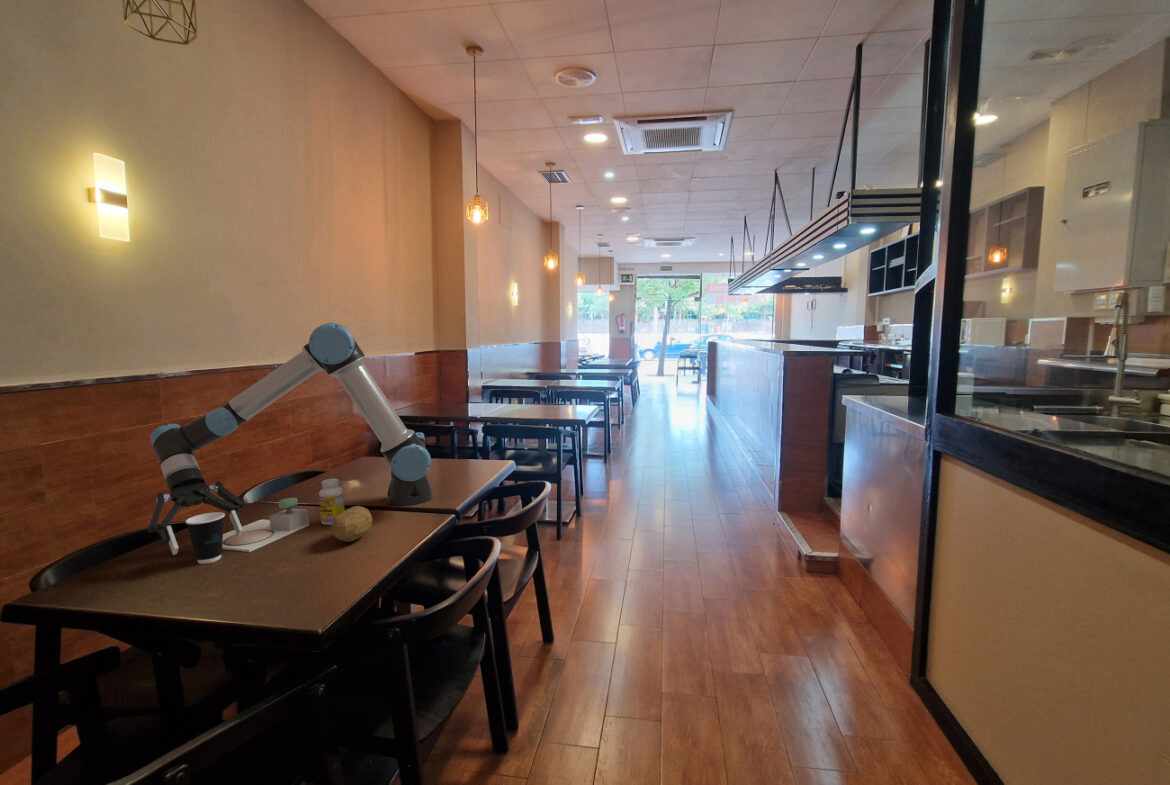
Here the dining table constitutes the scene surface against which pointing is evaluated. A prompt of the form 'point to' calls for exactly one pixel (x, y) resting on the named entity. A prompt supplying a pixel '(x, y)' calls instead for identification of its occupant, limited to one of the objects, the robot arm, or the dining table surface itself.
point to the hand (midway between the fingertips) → (209, 542)
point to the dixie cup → (206, 536)
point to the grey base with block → (266, 530)
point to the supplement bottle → (330, 501)
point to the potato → (351, 523)
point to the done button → (288, 504)
